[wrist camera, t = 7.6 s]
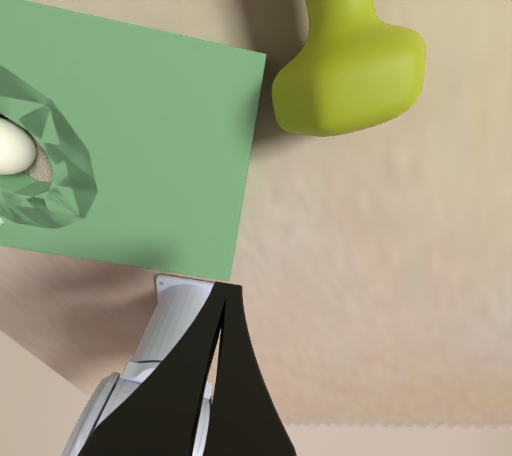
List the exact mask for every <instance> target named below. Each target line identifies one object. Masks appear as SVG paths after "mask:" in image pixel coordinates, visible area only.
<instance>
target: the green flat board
mask: <svg viewBox="0 0 512 456" xmlns="http://www.w3.org/2000/svg"><path fill="white" fill-rule="evenodd" d="M265 63H266V54H264V53H259V52H255V51H250V50H246V49H241V48H237V47H232V46H228V45H223V44H219V43H214V42H210V41H205V40H201V39H196V38H192V37H187V36H183V35H178V34H174V33H169V32H165V31H160V30H155V29H151V28H146V27H142V26H137V25H133V24H128V23H124V22H119V21H115V20H110V19H106V18H101V17H97V16H92V15H88V14H83V13H79V12H74V11H70V10H65V9H61V8H56V7H52V6H47V5H43V4H38V3H34V2H29V1H25V0H0V114H2V115H4V116H5V117H7V118H9V119H10V120H12V121H13V122H15V123H16V124H18V125H20V126H21V127H23V128H24V129H26V130H27V131H29V133H30V134H31V135H32V136H33V137H34V139H35V140H36V141H37V142H38V143H39V145H40V146H41V147H42V148H43V149H44V151H45V152H46V153H47V155H48V158H49V161H50V164H51V167H52V171H53V174H54V177H53V180H52V183H48V182H42V181H37V180H36V179H34V178H32V177H30V176H29V175H27V174H25V173H24V172H20V173H16V174H11V175H0V218H1V219H2V220H3V221H4V224H2V225H0V246H4V247H11V248H17V249H24V250H30V251H36V252H43V253H49V254H56V255H62V256H69V257H75V258H82V259H88V260H94V261H101V262H107V263H114V264H120V265H127V266H133V267H140V268H146V269H152V270H159V271H165V272H172V273H178V274H185V275H191V276H198V277H204V278H210V279H217V280H223V281H229V279H230V274H231V268H232V263H233V257H234V251H235V245H236V239H237V233H238V227H239V220H240V214H241V208H242V202H243V196H244V190H245V184H246V178H247V172H248V166H249V160H250V154H251V148H252V142H253V136H254V129H255V123H256V117H257V111H258V105H259V99H260V93H261V87H262V81H263V75H264V69H265Z"/></svg>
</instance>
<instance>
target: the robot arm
mask: <svg viewBox="0 0 512 456" xmlns="http://www.w3.org/2000/svg"><path fill="white" fill-rule="evenodd" d="M156 287H157V299H158V304H157V306H156V308H155V311H154V313H153V315H152V317H151V319H150V321H149V323H148V325H147V327H146V330H145V332H144V334H143V336H142V338H141V340H140V342H139V344H138V346H137V348H136V351H135V353H134V355H133V357H132V359H131V361H129V362H127V364H126V366H125V368H124V371H123V373H122V375H121V377H120V373H117V372H113V373H112V374H111V375H110V376H107V377H106V378H104V379H102V381H101V382H100V383H99V385H98V386H97V388H96V389H95V391H94V393H93V394H92V396H91V398H90V400H89V401H88V403H87V405H86V407H85V409H84V411H83V413H82V414H81V416H80V418H79V420H78V422H77V424H76V426H75V428H74V430H73V432H72V434H71V436H70V438H69V440H68V442H67V444H66V446H65V448H64V451H63V453H62V455H61V456H297V455H296V452H295V449H294V446H293V444H292V442H291V441H290V439H289V437H288V435H287V432H286V430H285V428H284V426H283V424H282V422H281V420H280V418H279V416H278V413H277V411H276V409H275V407H274V405H273V402H272V400H271V397H270V395H269V392H268V390H267V388H266V385H265V383H264V380H263V378H262V375H261V372H260V369H259V366H258V363H257V360H256V357H255V354H254V351H253V348H252V344H251V340H250V337H249V332H248V328H247V323H246V319H245V313H244V307H243V297H242V286H241V285H234V284H228V283H222V282H215V283H212V282H206V281H199V280H193V279H186V278H180V277H173V276H167V275H158V276H157V277H156ZM219 335H220V344H219V354H218V365H217V375H216V383H215V390H214V395H213V396H211V390H212V383H210V382H208V376H209V371H210V367H211V363H212V359H213V356H214V352H215V348H216V345H217V341H218V338H219ZM119 377H120V378H119Z"/></svg>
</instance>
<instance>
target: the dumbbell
mask: <svg viewBox="0 0 512 456" xmlns="http://www.w3.org/2000/svg"><path fill="white" fill-rule="evenodd" d="M306 5H307V10H308V17H309V33H308V38H307V40H306V43H305V45H304V46H303V48H302V50H301V51H300V52H299V54H298V55H297V56H296V57H295V58H294V59H293V60H292V61H290V62H289V63H288V64H287V65H286V66H285V67H284V68H283V69H281V70H280V71H279V73H278V74H277V75H276V77H275V79H274V81H273V84H272V103H273V108H274V113H275V118H276V121H277V124H278V125H279V126H280V128H282V129H283V130H285V131H286V132H290V133H293V134H300V135H308V136H317V137H325V136H335V135H341V134H346V133H350V132H354V131H358V130H362V129H366V128H369V127H373V126H376V125H379V124H382V123H384V122H387V121H389V120H391V119H393V118H396V117H397V116H399V115H401V114H402V113H404V112H406V111H407V110H408V109H409V108H410V107H411V106H412V105H413V104H414V103H415V102H416V100H417V98H418V96H419V95H420V92H421V89H422V85H423V80H424V71H425V59H426V51H425V44H424V41H423V38H422V37H421V36H420V35H419V34H418V33H417V32H415V31H413V30H411V29H408V28H404V27H399V26H393V25H390V24H386V23H384V22H383V21H381V20H380V19H379V18H378V16H377V15H376V13H375V10H374V6H373V0H306Z"/></svg>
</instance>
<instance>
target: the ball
mask: <svg viewBox="0 0 512 456" xmlns="http://www.w3.org/2000/svg"><path fill="white" fill-rule="evenodd" d="M35 158H36V147H35V144H34V142H33V140H32V138H31V137H30V136H29V134H28V133H27V132H26V131H25V130H24V129H22V128H21V127H20V126H18V125H16V124H15V123H13V122H11V121H8V120H6V119H3V118H0V175H11V174H16V173H20V172H22V171H24V170H26V169H28V168H29V167H30V166H31V165H32V164H33V162H34V160H35Z"/></svg>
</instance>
